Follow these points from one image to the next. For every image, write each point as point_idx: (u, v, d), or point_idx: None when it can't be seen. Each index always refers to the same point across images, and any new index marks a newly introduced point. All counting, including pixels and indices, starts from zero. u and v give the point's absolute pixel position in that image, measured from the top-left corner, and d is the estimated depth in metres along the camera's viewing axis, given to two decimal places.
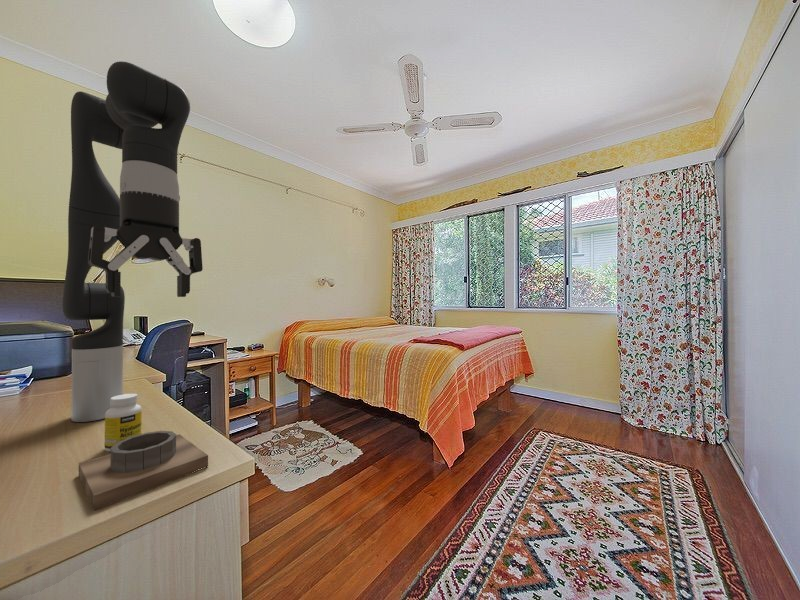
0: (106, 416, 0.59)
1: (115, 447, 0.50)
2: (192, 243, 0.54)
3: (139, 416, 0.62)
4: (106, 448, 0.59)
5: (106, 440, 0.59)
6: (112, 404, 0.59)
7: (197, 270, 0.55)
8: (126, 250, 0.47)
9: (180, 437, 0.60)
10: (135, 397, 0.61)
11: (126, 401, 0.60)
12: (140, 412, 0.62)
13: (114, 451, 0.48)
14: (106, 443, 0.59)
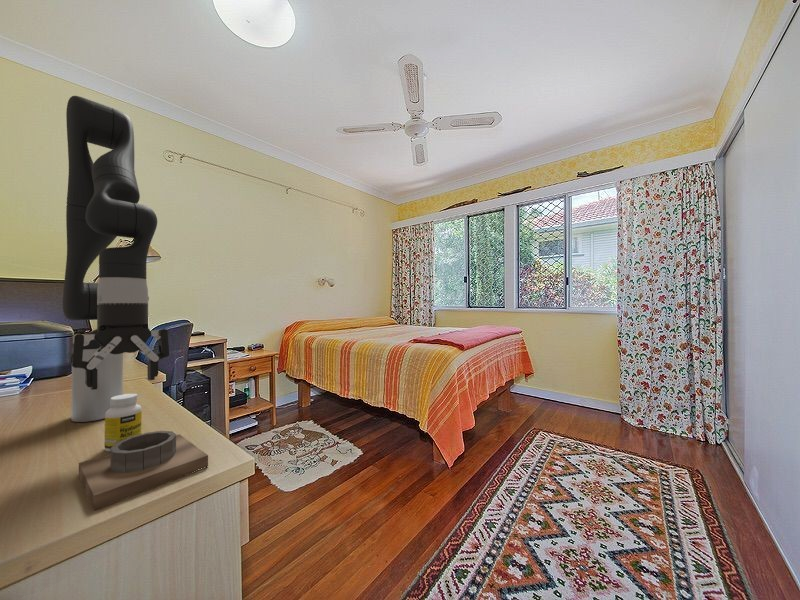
0: (106, 416, 0.59)
1: (115, 447, 0.50)
2: (160, 334, 0.65)
3: (139, 416, 0.62)
4: (106, 448, 0.59)
5: (106, 440, 0.59)
6: (112, 404, 0.59)
7: (164, 356, 0.65)
8: (102, 351, 0.57)
9: (180, 437, 0.60)
10: (135, 397, 0.61)
11: (126, 401, 0.60)
12: (140, 412, 0.62)
13: (114, 451, 0.48)
14: (106, 443, 0.59)
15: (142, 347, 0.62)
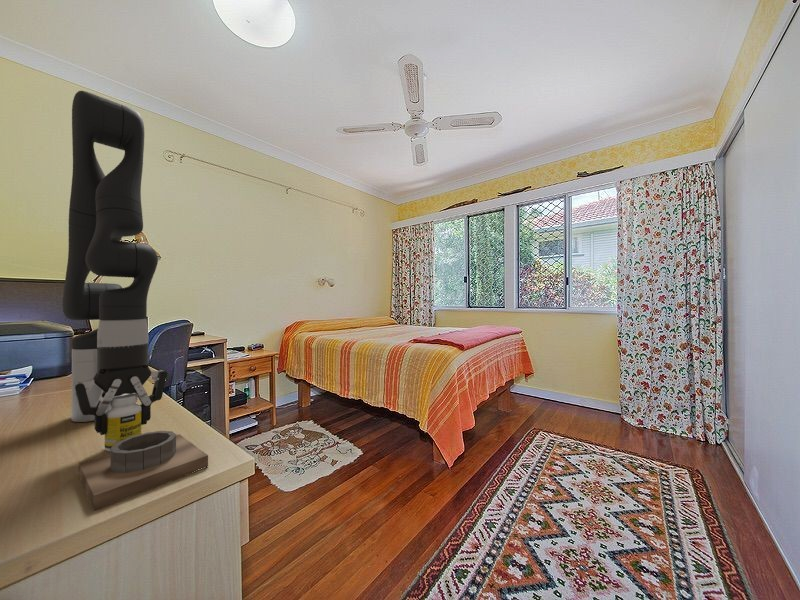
0: (106, 416, 0.59)
1: (115, 447, 0.50)
2: (159, 375, 0.65)
3: (139, 416, 0.62)
4: (106, 448, 0.59)
5: (106, 440, 0.59)
6: (112, 404, 0.59)
7: (156, 399, 0.64)
8: (106, 396, 0.58)
9: (180, 437, 0.60)
10: (135, 397, 0.61)
11: (126, 401, 0.60)
12: (140, 412, 0.62)
13: (114, 451, 0.48)
14: (106, 443, 0.59)
15: (139, 389, 0.62)
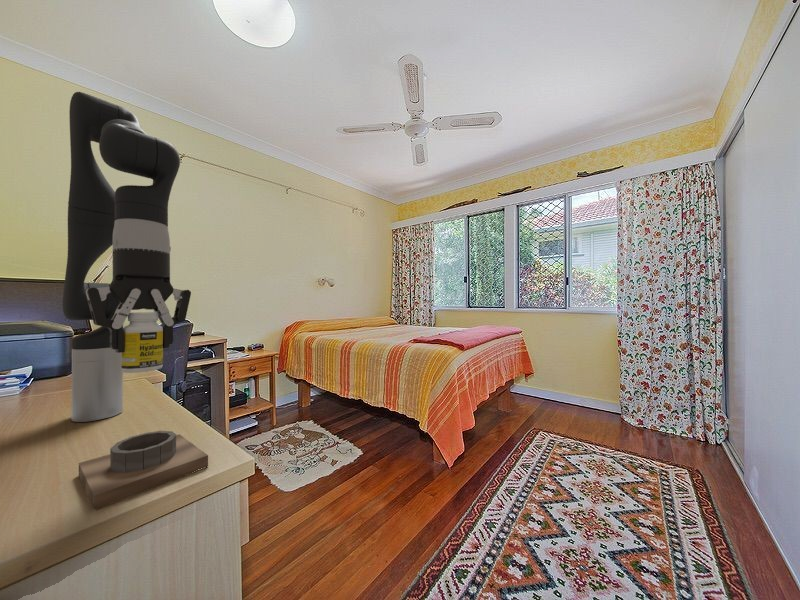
0: None
1: (115, 447, 0.50)
2: (182, 294, 0.57)
3: (161, 336, 0.53)
4: (124, 369, 0.50)
5: (123, 359, 0.50)
6: (130, 318, 0.51)
7: (179, 320, 0.56)
8: (123, 307, 0.49)
9: (180, 437, 0.60)
10: (156, 314, 0.53)
11: (146, 316, 0.51)
12: (162, 332, 0.54)
13: (114, 451, 0.48)
14: (124, 363, 0.50)
15: (160, 305, 0.53)
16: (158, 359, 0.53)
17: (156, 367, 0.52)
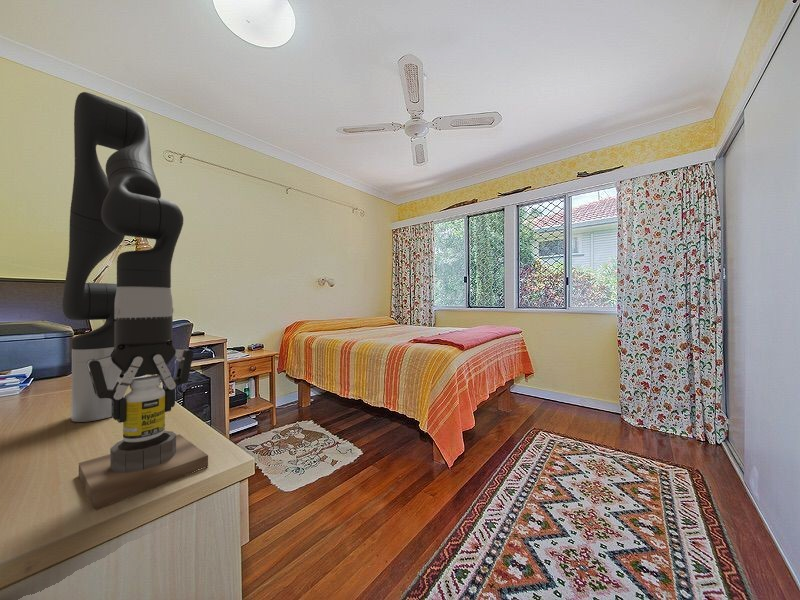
0: None
1: (115, 447, 0.50)
2: (184, 355, 0.56)
3: (163, 401, 0.52)
4: (125, 438, 0.49)
5: (125, 429, 0.49)
6: (132, 386, 0.50)
7: (182, 382, 0.55)
8: (125, 377, 0.49)
9: (180, 437, 0.60)
10: (158, 379, 0.52)
11: (148, 383, 0.51)
12: (164, 397, 0.53)
13: (114, 451, 0.48)
14: (125, 432, 0.49)
15: (162, 370, 0.53)
16: (160, 425, 0.52)
17: (158, 434, 0.51)
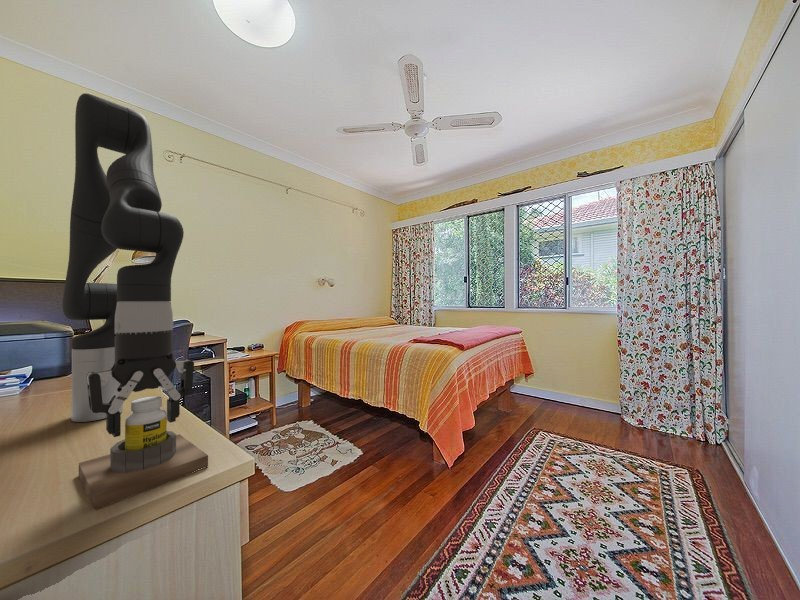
0: (127, 423, 0.50)
1: (115, 447, 0.50)
2: (185, 366, 0.56)
3: (164, 423, 0.53)
4: None
5: None
6: (133, 409, 0.50)
7: (186, 393, 0.56)
8: (123, 391, 0.48)
9: (180, 437, 0.60)
10: (159, 401, 0.53)
11: (149, 406, 0.51)
12: (165, 418, 0.53)
13: (114, 451, 0.48)
14: None
15: (164, 383, 0.53)
16: None
17: None
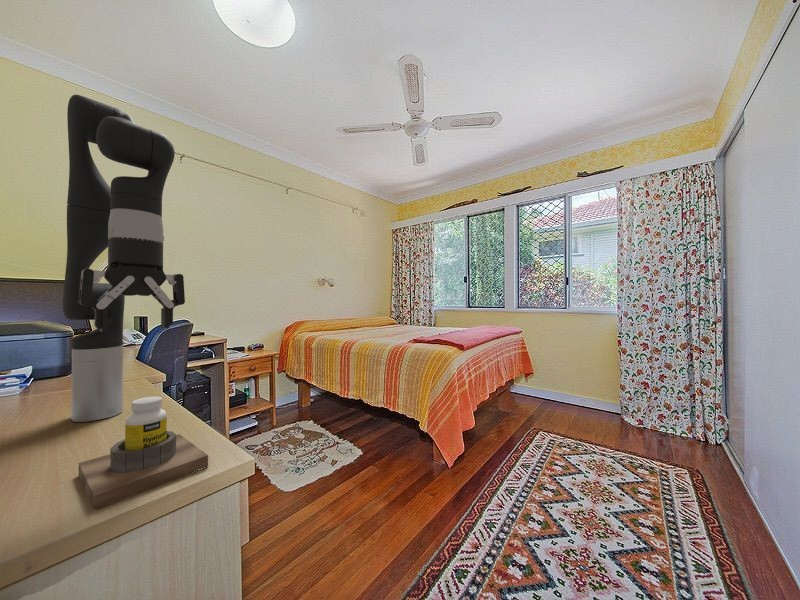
0: (127, 423, 0.50)
1: (115, 447, 0.50)
2: (175, 278, 0.59)
3: (164, 423, 0.53)
4: None
5: None
6: (134, 409, 0.50)
7: (180, 303, 0.60)
8: (113, 290, 0.52)
9: (180, 437, 0.60)
10: (160, 401, 0.53)
11: (149, 406, 0.51)
12: (165, 418, 0.53)
13: (114, 451, 0.48)
14: None
15: (156, 291, 0.56)
16: None
17: None
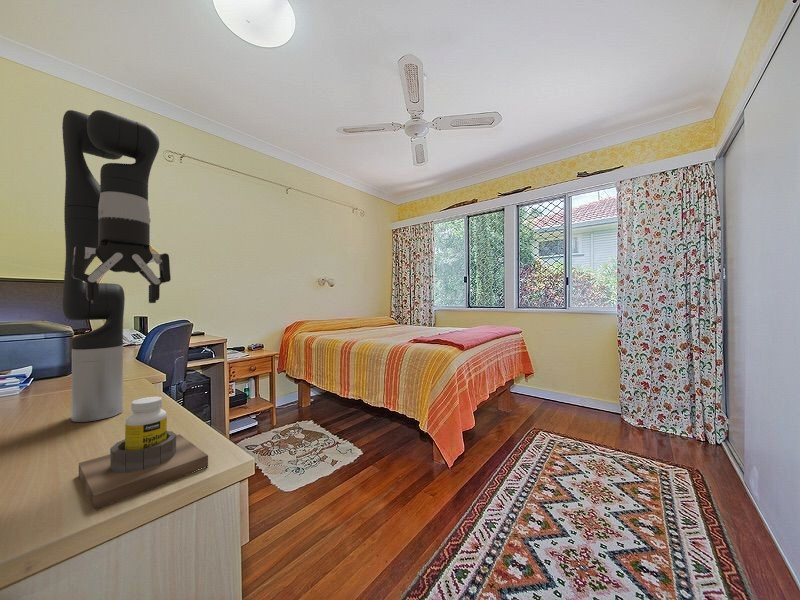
0: (127, 423, 0.50)
1: (115, 447, 0.50)
2: (161, 258, 0.65)
3: (164, 423, 0.53)
4: None
5: None
6: (134, 409, 0.50)
7: (166, 280, 0.65)
8: (103, 265, 0.57)
9: (180, 437, 0.60)
10: (160, 401, 0.52)
11: (149, 406, 0.51)
12: (165, 418, 0.53)
13: (114, 451, 0.48)
14: None
15: (143, 267, 0.62)
16: None
17: None
